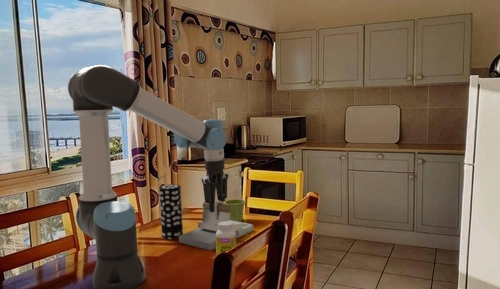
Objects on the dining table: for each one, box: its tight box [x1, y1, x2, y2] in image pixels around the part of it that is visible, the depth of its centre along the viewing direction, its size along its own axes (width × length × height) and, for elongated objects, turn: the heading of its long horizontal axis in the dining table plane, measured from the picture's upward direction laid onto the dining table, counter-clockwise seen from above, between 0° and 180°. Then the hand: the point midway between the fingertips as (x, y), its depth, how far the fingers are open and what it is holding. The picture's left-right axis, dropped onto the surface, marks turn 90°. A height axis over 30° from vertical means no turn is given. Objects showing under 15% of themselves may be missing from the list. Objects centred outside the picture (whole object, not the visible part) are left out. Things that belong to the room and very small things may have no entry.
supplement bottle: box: [215, 221, 237, 255], centre depth 138 cm, size 7×7×13 cm
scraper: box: [197, 201, 231, 231], centre depth 162 cm, size 4×14×10 cm, turn 53°
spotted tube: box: [158, 184, 184, 240], centre depth 165 cm, size 8×8×20 cm
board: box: [178, 227, 239, 251], centre depth 159 cm, size 16×16×2 cm
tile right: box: [230, 221, 241, 231], centre depth 163 cm, size 6×6×2 cm
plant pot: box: [223, 198, 246, 222], centre depth 183 cm, size 9×9×9 cm
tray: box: [229, 220, 254, 238], centre depth 170 cm, size 10×16×2 cm, turn 53°
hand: (217, 218), depth 163 cm, fingers closed on scraper, 3 cm apart
